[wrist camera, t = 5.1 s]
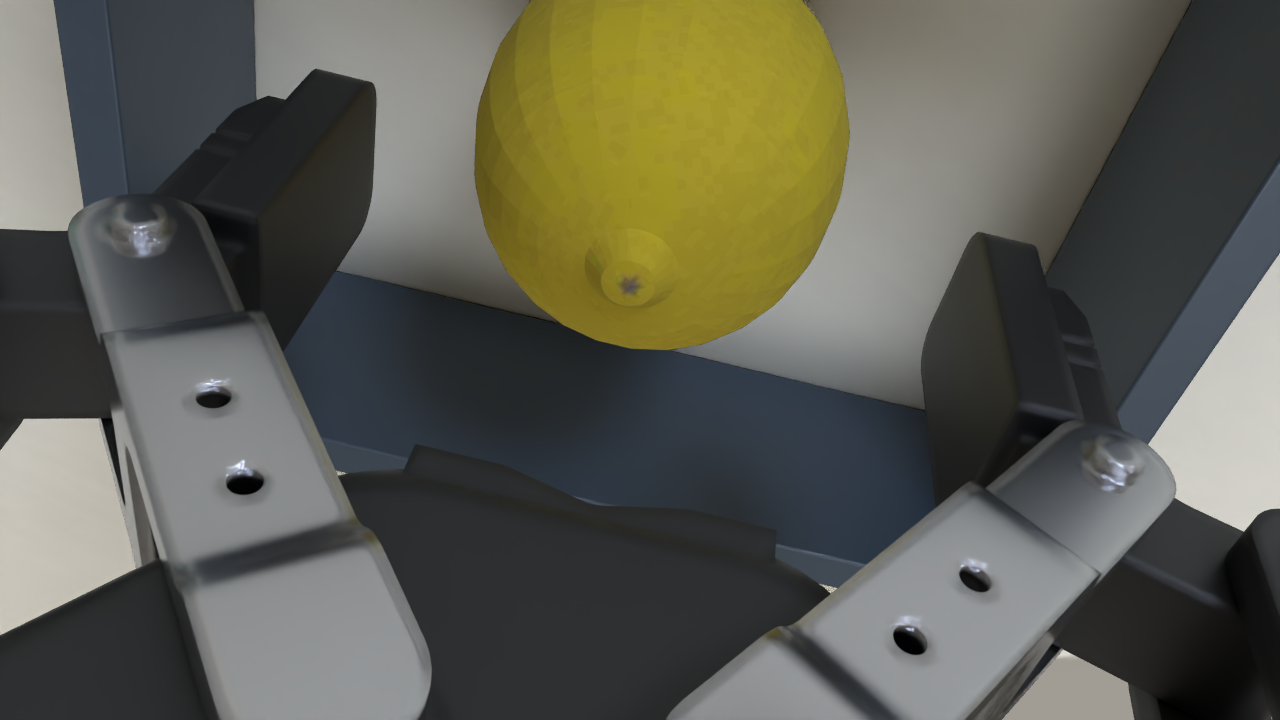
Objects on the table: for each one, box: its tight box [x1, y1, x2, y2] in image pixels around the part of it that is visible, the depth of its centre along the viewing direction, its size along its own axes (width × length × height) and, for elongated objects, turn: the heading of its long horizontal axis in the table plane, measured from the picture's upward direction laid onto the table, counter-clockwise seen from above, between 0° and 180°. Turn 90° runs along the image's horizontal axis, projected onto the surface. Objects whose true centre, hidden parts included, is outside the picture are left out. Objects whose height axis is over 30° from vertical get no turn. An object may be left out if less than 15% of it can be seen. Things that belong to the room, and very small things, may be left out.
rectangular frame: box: [54, 0, 1280, 588], centre depth 18 cm, size 18×16×5 cm
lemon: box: [474, 0, 850, 350], centre depth 16 cm, size 6×6×8 cm
